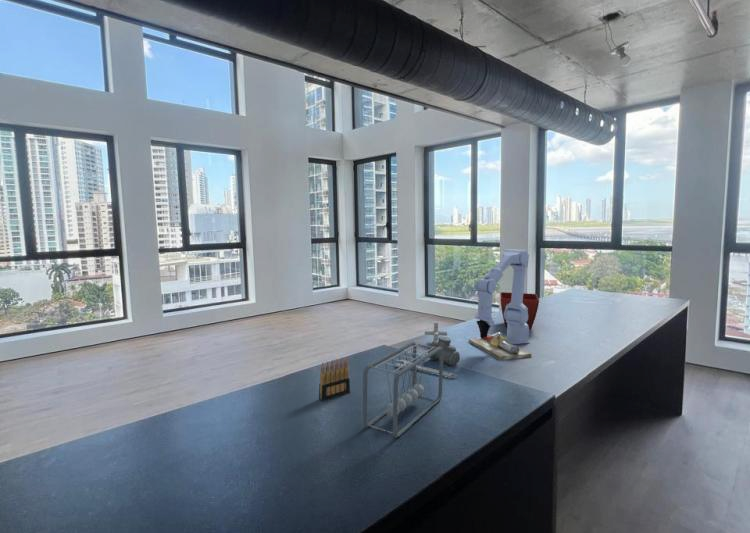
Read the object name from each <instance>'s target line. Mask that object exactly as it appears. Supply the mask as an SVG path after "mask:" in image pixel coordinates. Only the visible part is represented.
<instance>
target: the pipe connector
mask: <svg viewBox="0 0 750 533" xmlns="http://www.w3.org/2000/svg"><path fill="white" fill-rule="evenodd" d="M424 335H425V336H433V341H435V340H438V338H439V336H444V337H448V332H447V331H443V330H442V331H439V322H437V321H434V322H433V330H425V331H424ZM438 341H439V340H438Z"/></svg>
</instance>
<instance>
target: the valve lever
mask: <svg viewBox="0 0 750 533" xmlns="http://www.w3.org/2000/svg"><path fill="white" fill-rule="evenodd" d="M499 335H501V336H503V332H500V331H496V332H495V333H493V334H490V335H487V336H484V337H483V340H486V341H489V340H492V339H493V338H494V337H496V336H499Z"/></svg>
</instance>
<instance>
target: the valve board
mask: <svg viewBox="0 0 750 533" xmlns="http://www.w3.org/2000/svg"><path fill="white" fill-rule="evenodd" d="M468 343H470V344H471V345H473V346H475V347H477V348H479V349H481V351H484V352H485V353H487V354H489V355H491V356H492V357H494V358H495V359H498V360H499V361H503V360H515V359H526V358H532V353H531V352H529V351H527V350H525V349H523V348H521V347H519V346H517V347H518V348H519V353H518V354H516V355H512V354H511V353H510V352H508V351H506V350H505V349H503V348H497V347H495V346H493V345H491V342H489V341H486V340H483V339H482V338H481V337H476V338H468ZM507 343H508V344H510V345H512V346H516V344H511V343H509V342H507Z"/></svg>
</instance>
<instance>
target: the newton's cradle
mask: <svg viewBox="0 0 750 533" xmlns="http://www.w3.org/2000/svg"><path fill="white" fill-rule="evenodd" d="M418 346H420V347H421V346H422V347H427V348H429V347H431V349H429V350H428V349H427V350H426V351H423V353H421V354H417V351H418V349H417V348H418ZM433 348H436V349H434V350H433V351H431V352H429V351H430V350H432V349H433ZM410 350H411V356H412V357H409V356H406V355H407V353H408V354H410V352H409V351H410ZM419 351H421V352H422V349H421V350H420V349H419ZM438 351H440V359H439V364H438V366H439V367H438V370H439V376H438V394H437V397H436V398H435V399H436V400H433V401H432V402H431V403H430V404H429V405H428V406H426V407H425V408H424V409H423V410H422V411H421V412H419V413H418V414H417V415H416V416H415V417H414V418H413V419H411V420H410V421H409V422H408V423H407V424H406V425H404V427H402V428H401V429H400V430H399V431H398V415H399V414H400V412H403V411H404V410H406V407H409V406H411V404H412V403H413V402H416V401H417V400H418V397H419V398H420V397H422V396H425V397H424V398H426V397H428V396H426V395H425V394H424V393H425V388H424V386H423V385H422V384H420V383H421V379H422V374H423V372H421V371H420V378H419V382H418V379H417V374H418V371H417V370H416V365H418V366H419V364H422V370H423V367H424V364H425V360H428V359H430V358H429V357H430V356H432V355H434V354H435V353H437V352H438ZM428 352H429V353H428ZM427 353H428V354H427ZM403 354H405V356H404V355H403ZM417 355H418V356H417ZM401 356H402V357H403V358H405V360H406V361H408V359H407V358H409V359H411V358H412V359H411V360H409V362H407V363H406V364H405V365H403V366H401V362H400V368H396V369H393V371H392V370H390V369H389V370H388V367H387V364H388V365H390V363H388V362H391V361H394V360H395V361H396V359H395V358H397V357H399V359H397V360H398V361H400V360H401ZM403 362H404V361H403ZM409 363H412V364H410V365H409V366H408V364H409ZM384 364H385V369H384V368H380V367H381V366H382V365H384ZM391 365H392V366H393V368H395V367H396V366H398V365H396V364H394V362H392V363H391ZM406 365H407V367H405V368H404V369H401V368H403V367H404V366H406ZM412 368H413V370H412ZM370 369H375V370H379V371H383V372H386V376H387V378H389V373H392V374H394V378H393V390H392V391H393V397H392V394H391V393H392V392H389V395H390V396H389V397H390V398H393V399H390V403H389V404H387V405H386V408H385V410H383V411H382V412H380V414H378V415H377V416H375V417H373V419H371V420H370V421H369V422H368V375H369V374H368V373H369V370H370ZM417 369H418V367H417ZM443 369H444V362H443V348H442V347H432V346H429V345H426V344H421V343H416V342H415V341H413V340H412V341H410V342H407V344H405V345H403V346H401V347H399V348H397V349H395V350H393V351H391V352H389V353H388V354H385V355H384V356H382V357H380V358H378V359H376V360H374V361H373V362H370V363H369V364H367V365H366V366H365V367H364V369H363V373H362V376H363V377H362V425H363V427H364V428H365V429H369V428H373V429H376V430H379V429H380V430H379V431H382V430H383V431H382V432H385V431H387V432H386V433H388V432H389V433H388V434H391V433H393V434H392V435H393V437H394V438H395V439H398V438H397V437H399V436H400V435H401V434H402V433H403V432H404V431H405V430H406V429H408V428H409V427H410V426H411V425H412V424H413V423H414V422H415V421H416V420H417V419H418V418H419V417H420V416H421V415H422V414H423V413H424V412H426V410H428V409H429V408H430V407H431V406H432V405H434V404H435V403H436V402H437V401H438V400H439V399H440V400H441V399H442V396H443V378H444V377H443V371H444V370H443ZM410 370H411V371H410ZM407 372H408V373H407ZM409 372H410V373H409ZM406 374H408V375H409V376H408V380H409V381H408V385H407V390H406V389H405V388H404V387H405V379H406ZM403 375H404V377H403ZM400 377H401V379H402V380H403V381H402V388H401V394H400V396H399V382H400ZM411 377H412V379H411ZM411 380H412V382H411ZM387 383H388V388H389V391H391V388H390V381H389V379H387ZM409 386H410V388H409ZM403 392H404V393H403ZM429 397H430V398H432V397H431V396H429ZM430 398H429V399H430ZM384 415H385V416H386V415H387V416H388V417H390V418H392V431H389V430H387V429H383V428H380V427H378V426H375V425H374V424H376V423H377V422H378V421H379V419H380V418H381V419H382V418H384V417H385V416H384ZM383 416H384V417H383ZM381 419H380V420H381ZM376 421H377V422H376ZM375 422H376V423H375ZM372 424H373V425H372ZM412 426H413V425H412ZM412 426H411V427H412ZM368 427H369V428H368ZM411 427H410V428H411ZM410 428H409V429H410ZM409 429H408V430H409ZM402 435H403V434H402ZM402 435H401V436H402ZM401 436H400V437H401ZM400 437H399V438H400Z"/></svg>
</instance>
